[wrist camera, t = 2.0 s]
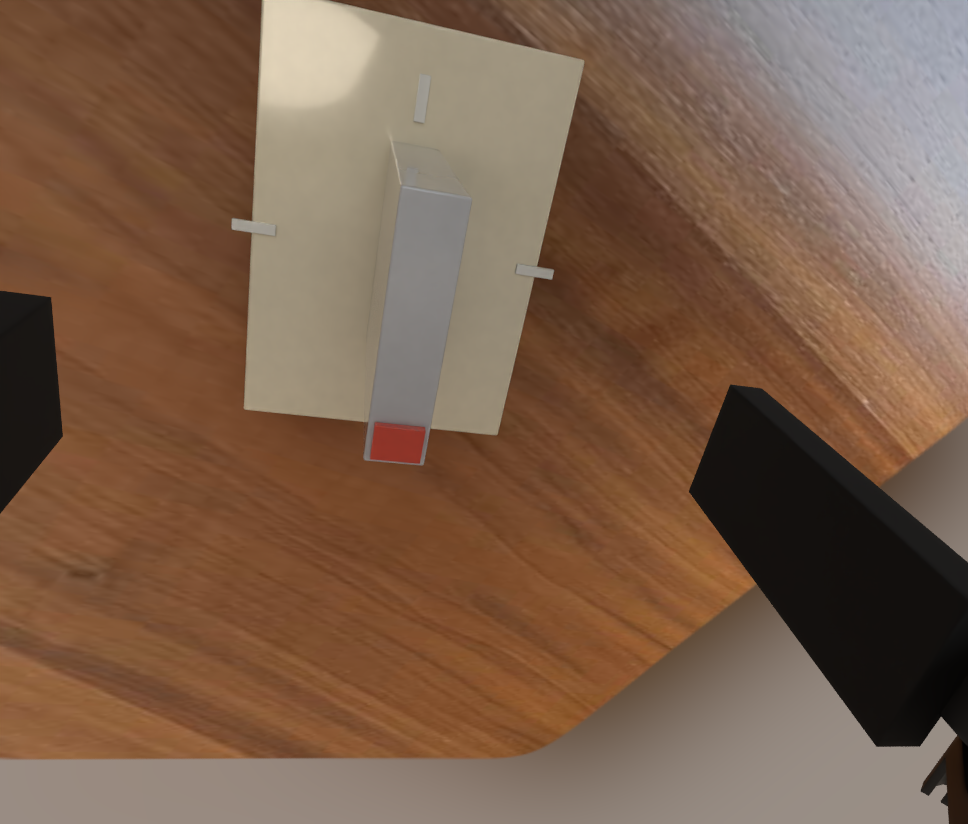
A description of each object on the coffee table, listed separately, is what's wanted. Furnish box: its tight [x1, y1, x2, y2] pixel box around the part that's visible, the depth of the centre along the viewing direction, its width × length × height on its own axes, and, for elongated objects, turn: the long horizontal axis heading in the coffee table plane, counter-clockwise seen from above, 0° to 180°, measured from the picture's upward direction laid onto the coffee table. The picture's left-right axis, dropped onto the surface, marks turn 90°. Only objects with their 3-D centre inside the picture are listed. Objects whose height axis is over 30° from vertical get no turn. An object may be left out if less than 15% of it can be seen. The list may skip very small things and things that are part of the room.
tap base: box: [232, 0, 584, 435], centre depth 25 cm, size 14×11×3 cm
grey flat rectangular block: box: [363, 141, 472, 465], centre depth 20 cm, size 7×2×9 cm, turn 169°
